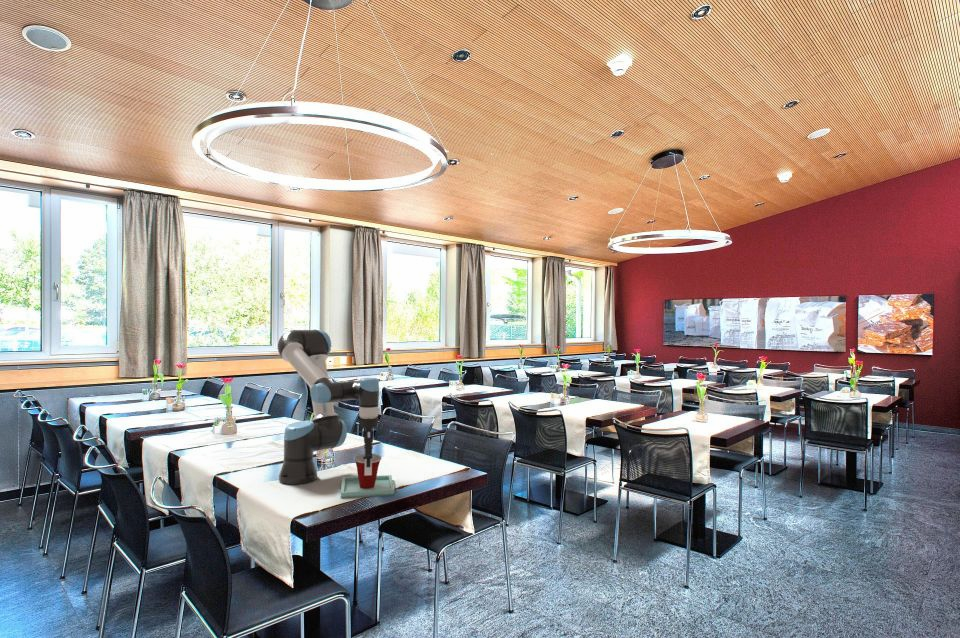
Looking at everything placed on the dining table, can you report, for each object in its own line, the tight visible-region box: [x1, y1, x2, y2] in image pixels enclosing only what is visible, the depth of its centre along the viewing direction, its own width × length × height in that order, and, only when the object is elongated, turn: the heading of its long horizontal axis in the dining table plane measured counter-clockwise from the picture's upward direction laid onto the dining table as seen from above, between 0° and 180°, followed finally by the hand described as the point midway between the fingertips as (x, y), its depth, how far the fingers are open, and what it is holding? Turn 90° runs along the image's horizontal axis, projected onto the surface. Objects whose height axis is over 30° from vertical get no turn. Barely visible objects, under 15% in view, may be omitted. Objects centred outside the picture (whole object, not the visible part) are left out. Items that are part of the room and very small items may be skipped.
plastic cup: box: [353, 453, 382, 489], centre depth 210 cm, size 11×11×12 cm
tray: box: [340, 474, 395, 499], centre depth 210 cm, size 20×20×2 cm
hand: (367, 470), depth 210 cm, fingers open, 13 cm apart
